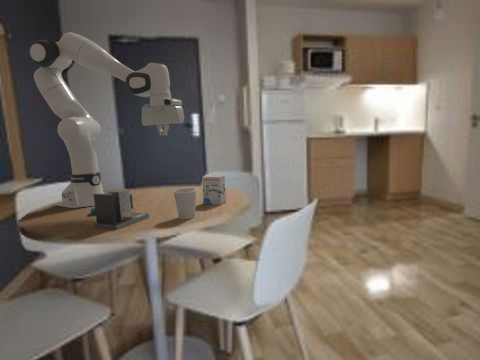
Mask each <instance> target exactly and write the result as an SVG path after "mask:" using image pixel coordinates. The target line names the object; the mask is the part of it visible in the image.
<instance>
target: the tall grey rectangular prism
mask: <svg viewBox="0 0 480 360" xmlns="http://www.w3.org/2000/svg"><path fill="white" fill-rule="evenodd" d="M105 194H114V201H115V210H116V220H118V221H123V220H125V219H133V217H132V210H133V209H134V202H133V195H132V194H131V193H130V189H127V188H114V189H110V190H106V191H105Z"/></svg>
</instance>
